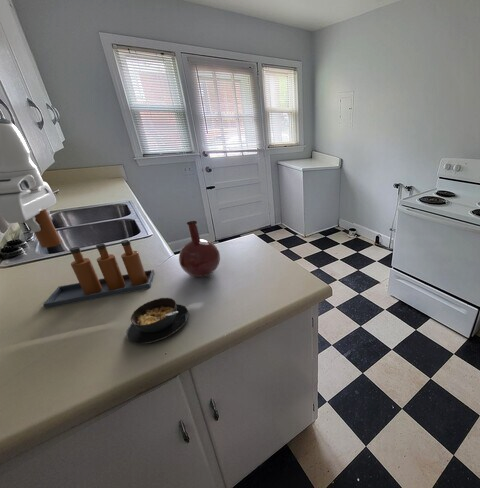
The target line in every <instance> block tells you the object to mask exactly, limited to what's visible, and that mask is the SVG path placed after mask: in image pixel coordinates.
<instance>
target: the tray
mask: <svg viewBox="0 0 480 488" xmlns="http://www.w3.org/2000/svg"><path fill="white" fill-rule="evenodd" d="M144 271H145V274H146V277H147V280H148V281H147V282H146V283H145V284H141V285H136V286H133V285H132V284H131V281H130V278H129V276H128V273H126V274H122V276H123V279H124V282H125V286H124V287H123V288H121V289H115V290H109V288H108V286H107V284H106V281H105V279H104V278H98V279H99V282H100V284H101V286H102V290H101V291H100V292H98V293H95V294H89V295H85V294H84V292H83V290H82V287H81V285H80V283H79V282H77V283H71V284H64V285H60V286H59V285H58V287H56V289H55V290H54V291H53V292H52V294H50V296H49V297H48V298H47V299H46V300H45V301H44V302H43V303H42V305H43V306H44V308H45V309H51V308H56V307H59V306H66V305H70V304H71V305H72V304H74V303H80V302H86V301H90V300H91V301H92V300H95V299H100V298H101V299H102V298H105V297H110V296H116V295H120V294H125V293H131V292H137V291H140V290H146V289H150V288H151V287H152V283H153V281H154V279H155V278H154V277H155V274H156V273H155V272H156V271H155V270H154V269H149V270H144Z"/></svg>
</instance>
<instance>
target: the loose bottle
mask: <svg viewBox="0 0 480 488" xmlns="http://www.w3.org/2000/svg"><path fill="white" fill-rule="evenodd" d="M35 218H36V220H35V221H36V222H37V223H38V224H40V225H41V227H42V230H40V231H38V232H33V233H34V236H35V238H36V240H37V241H38V243H39V245H40V247H41V248H43V249H44V248H46V249H47V248H52V247H55V246H59V245H61V244H62V240H61V238H60V235H59V233H58V232H57V229H56V227H55V225H54V224H53V221H52V218H51V216H50V217H49V214H48V212H47V210H46V208H44V209H42V210H40V213H39V214H37V215H36V216H35Z"/></svg>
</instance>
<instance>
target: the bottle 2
mask: <svg viewBox="0 0 480 488" xmlns="http://www.w3.org/2000/svg"><path fill="white" fill-rule="evenodd" d="M95 248H96V250H97V251H98V253H99V257H97V258H96V263H97V265H98V267H99V269H100V272H101V274H102V276H103V279H105V281H106V284H107V286H108V288H109V290H115V289H121V288H123V287H124V286H125V282H124V279H123V276H122V275H123V274H122V271H121V268H120V266H119V264H118V261H117V258H116V256H115V254H109V252H108V249H107V246H106V243H105V242H101V243H97V244H96V245H95Z"/></svg>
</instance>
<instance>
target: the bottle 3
mask: <svg viewBox="0 0 480 488" xmlns="http://www.w3.org/2000/svg"><path fill="white" fill-rule="evenodd" d="M120 244H121V246H122V248H123V251H124V252H123V253H122V254H121V256H120V257H121V259H122V262H123V265H124V267H125V270H126V274H128V276H129V278H130V281H131V284H132V285H133V286H136V285H141V284H145V283H146V282H147V281H148V280H147V277H146V274H145V271H146V270H145V268H144V265H143V263H142V259H141V256H140V254H139V251H137V250H133V248H132V246H131V241H130V239H124V240H122V241H121V242H120Z"/></svg>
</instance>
